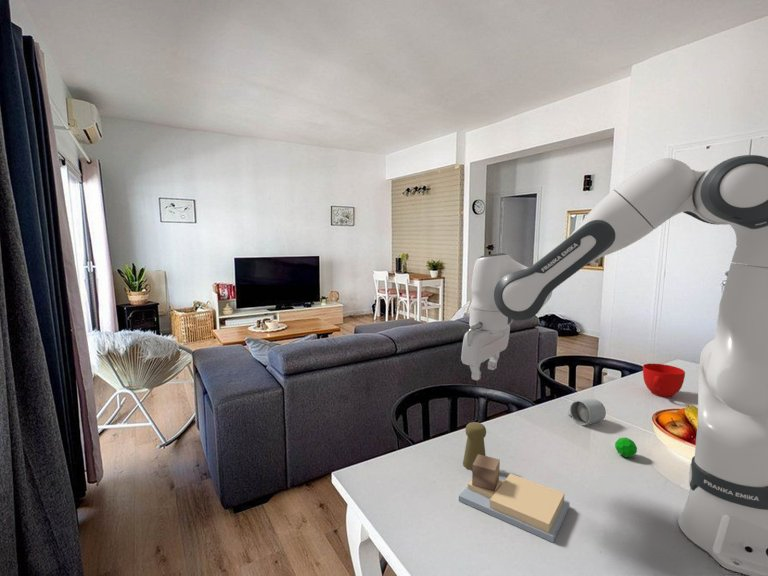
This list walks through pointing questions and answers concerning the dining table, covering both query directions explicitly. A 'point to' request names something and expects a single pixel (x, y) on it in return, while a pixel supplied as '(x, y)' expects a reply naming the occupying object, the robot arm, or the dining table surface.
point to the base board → (521, 504)
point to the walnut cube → (485, 472)
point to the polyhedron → (626, 447)
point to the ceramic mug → (587, 411)
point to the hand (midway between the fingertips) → (484, 373)
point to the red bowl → (663, 379)
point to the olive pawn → (474, 443)
